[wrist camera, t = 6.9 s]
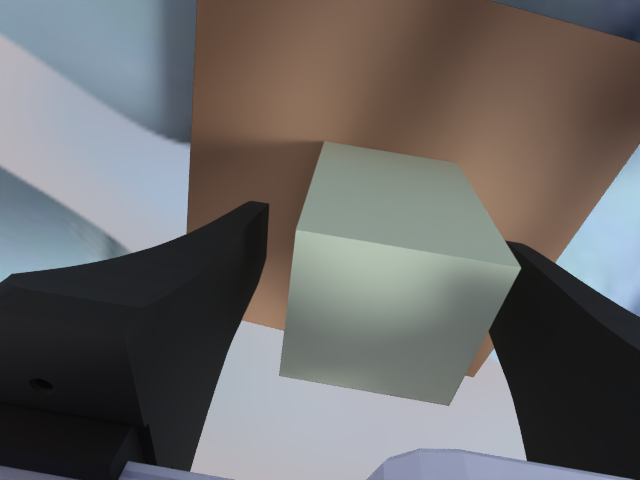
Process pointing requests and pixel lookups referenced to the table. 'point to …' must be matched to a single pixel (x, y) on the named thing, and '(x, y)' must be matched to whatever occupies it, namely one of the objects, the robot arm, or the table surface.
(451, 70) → the walnut plinth
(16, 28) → the table surface
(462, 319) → the sage block
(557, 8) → the table surface
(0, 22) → the table surface
